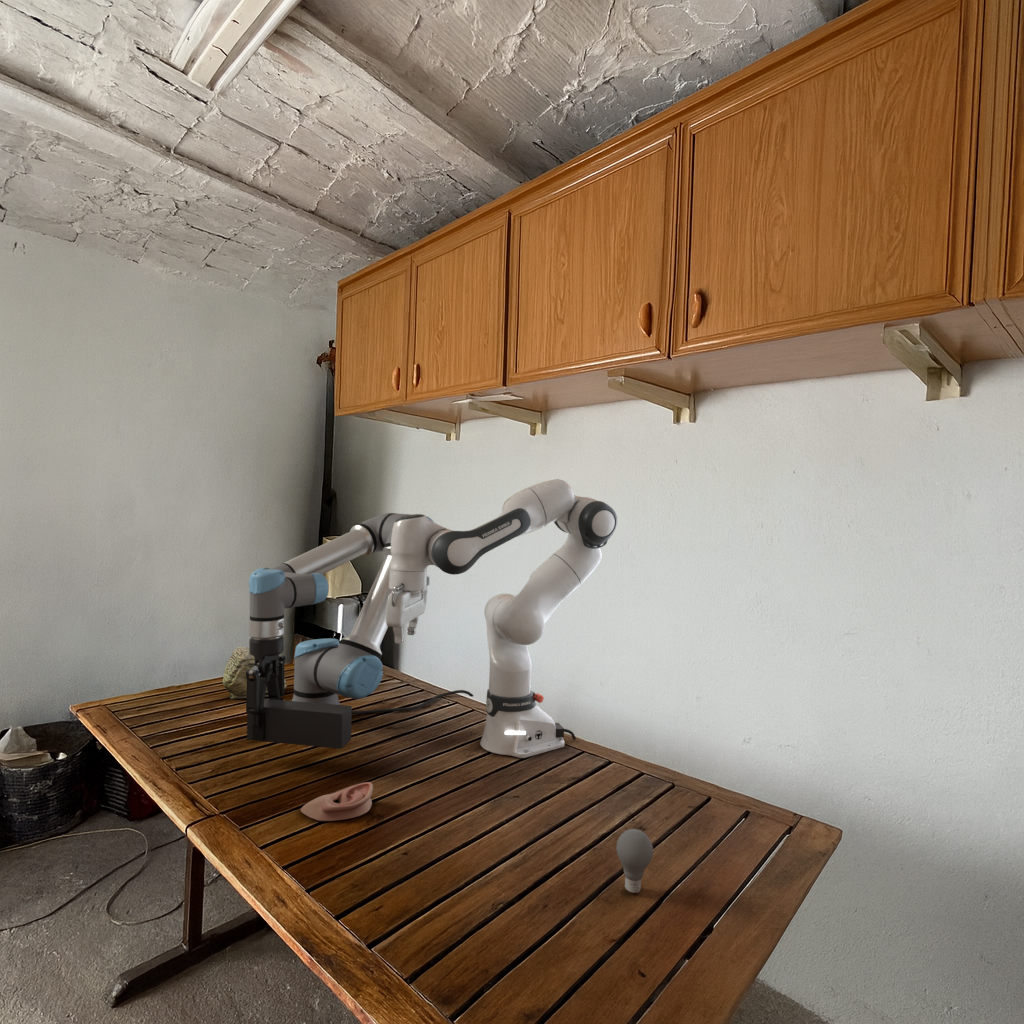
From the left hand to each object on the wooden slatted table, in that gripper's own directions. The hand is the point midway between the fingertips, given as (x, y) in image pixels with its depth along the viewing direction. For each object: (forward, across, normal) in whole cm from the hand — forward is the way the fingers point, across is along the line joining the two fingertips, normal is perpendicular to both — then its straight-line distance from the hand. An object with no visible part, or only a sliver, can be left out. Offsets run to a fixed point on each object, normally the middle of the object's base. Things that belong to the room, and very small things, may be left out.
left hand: (265, 734), depth 149 cm
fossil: (+8, +45, +30) cm, 55 cm away
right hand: (-22, +10, -30) cm, 39 cm away
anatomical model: (+7, -16, -25) cm, 31 cm away
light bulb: (+7, -31, -84) cm, 90 cm away
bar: (+1, 0, -8) cm, 8 cm away
